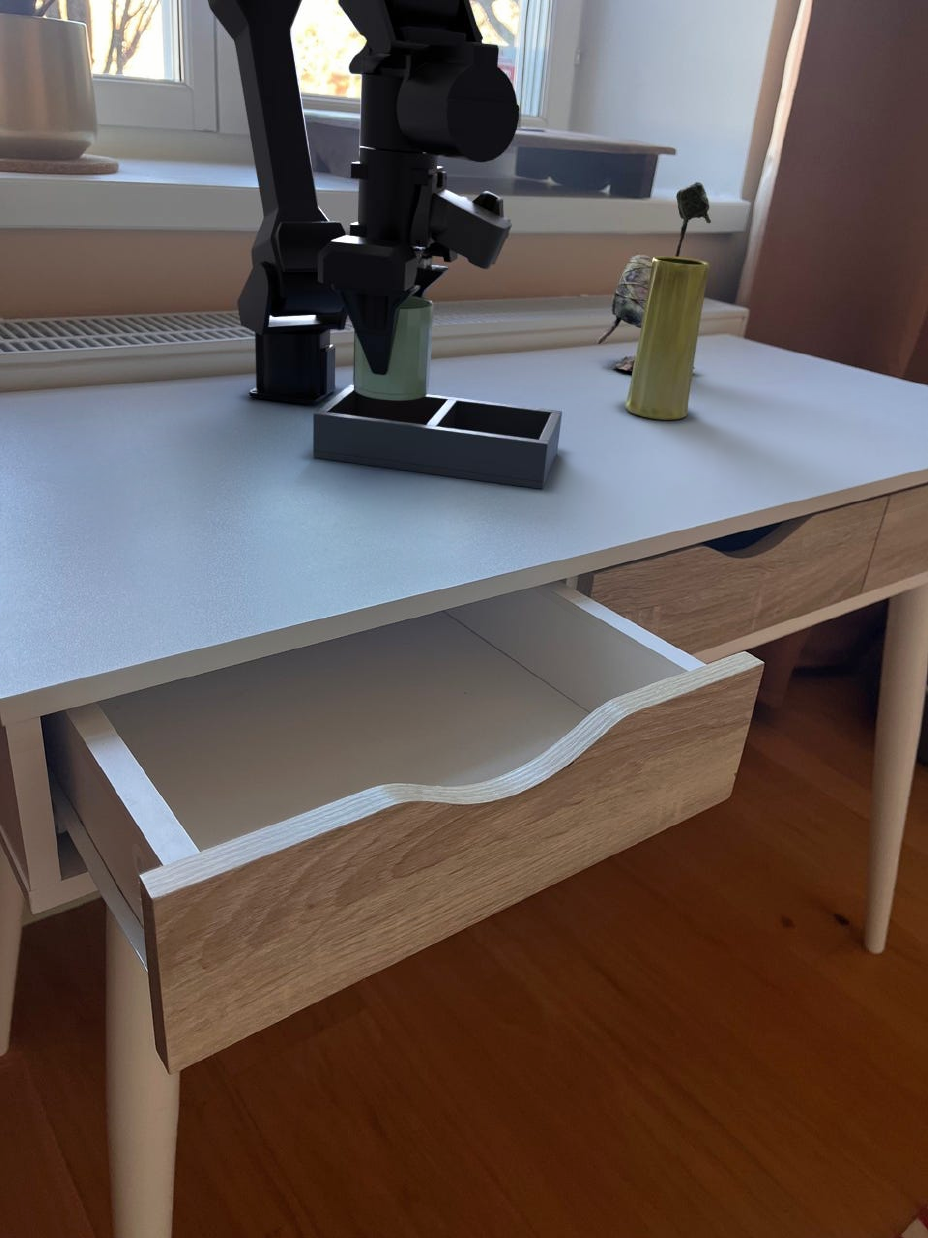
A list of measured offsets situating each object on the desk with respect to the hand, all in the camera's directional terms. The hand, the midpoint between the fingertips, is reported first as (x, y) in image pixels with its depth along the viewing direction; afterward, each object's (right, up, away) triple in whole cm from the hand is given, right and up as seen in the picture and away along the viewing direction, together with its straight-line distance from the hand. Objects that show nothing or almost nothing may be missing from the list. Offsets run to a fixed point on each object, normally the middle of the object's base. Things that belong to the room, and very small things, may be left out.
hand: (390, 365), depth 80 cm
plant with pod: (+26, +8, +35) cm, 45 cm away
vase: (+25, 0, +19) cm, 31 cm away
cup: (0, -2, +1) cm, 2 cm away
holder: (+4, -7, +2) cm, 8 cm away
